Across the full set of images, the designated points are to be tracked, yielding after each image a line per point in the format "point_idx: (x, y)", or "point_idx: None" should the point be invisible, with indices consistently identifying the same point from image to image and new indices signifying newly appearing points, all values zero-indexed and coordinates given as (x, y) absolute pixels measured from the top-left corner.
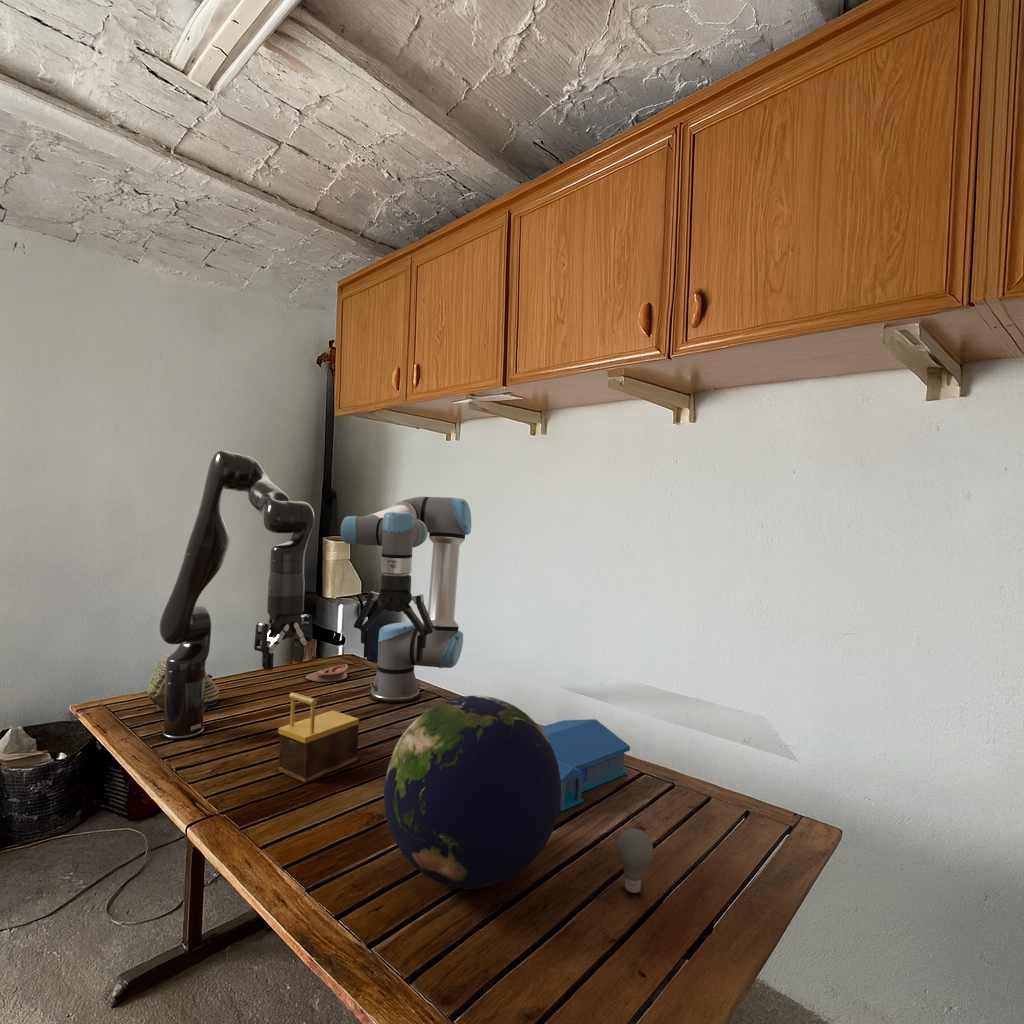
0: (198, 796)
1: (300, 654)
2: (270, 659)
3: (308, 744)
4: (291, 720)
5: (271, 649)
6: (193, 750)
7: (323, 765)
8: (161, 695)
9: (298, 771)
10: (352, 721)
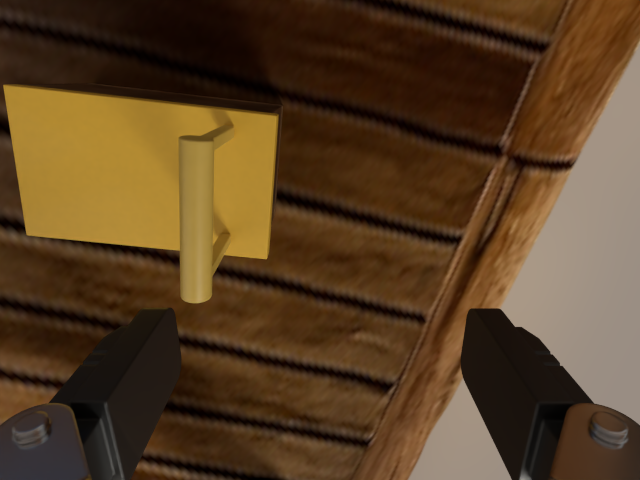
0: (461, 257)
1: (147, 346)
2: (540, 364)
3: (264, 111)
4: (226, 244)
5: (621, 436)
6: (308, 432)
7: (216, 99)
8: None
9: (278, 138)
10: (40, 88)
